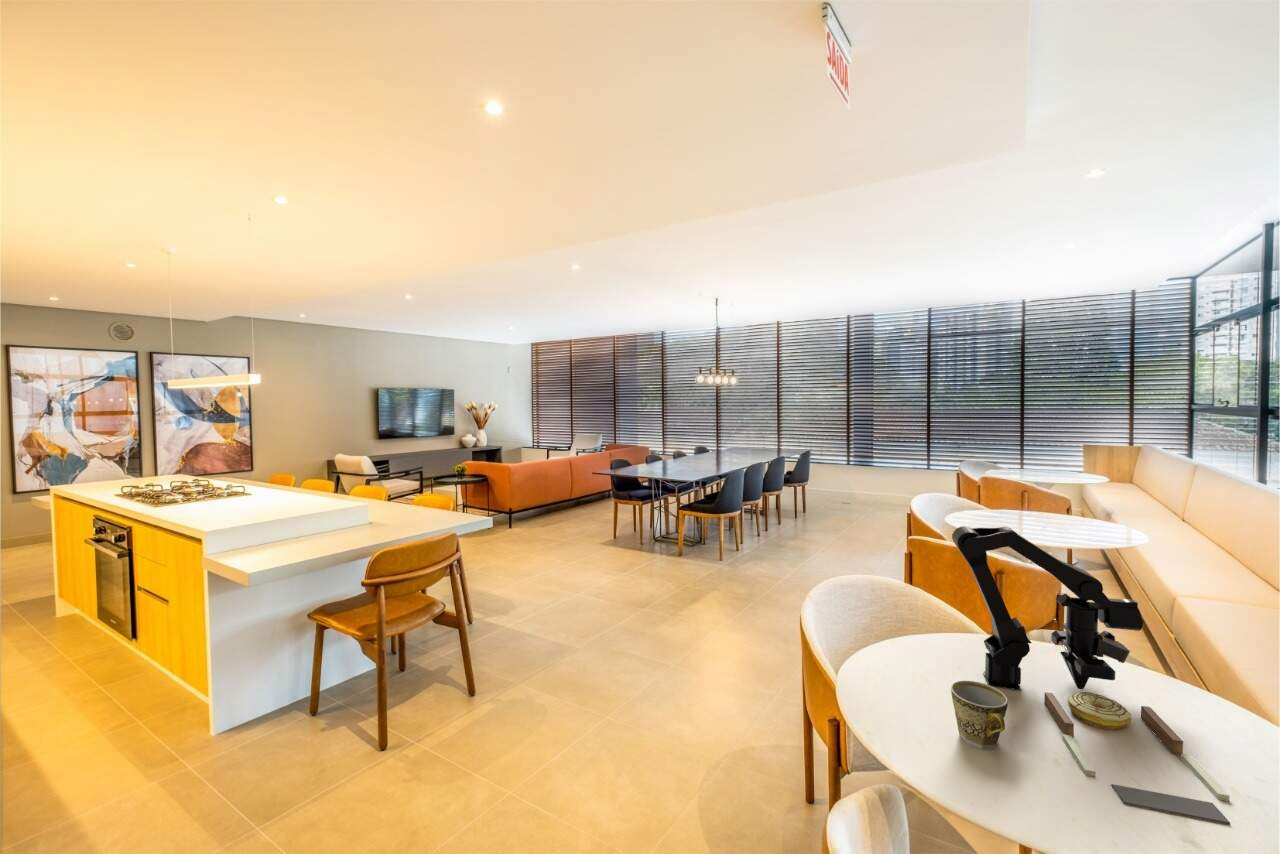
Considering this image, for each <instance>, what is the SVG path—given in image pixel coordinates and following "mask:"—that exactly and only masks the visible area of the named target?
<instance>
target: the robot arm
mask: <svg viewBox="0 0 1280 854" xmlns="http://www.w3.org/2000/svg"><path fill="white" fill-rule="evenodd" d="M951 539H952V542H953V543H954V545H955V546H956V548H957V550H958V551H959V552H960V554H961V555H962V557H963V558H964V560H965V561H966V562H967V564H968V566H969V568H970V570H971V572H972V575H973V578H974V579H975V582H976V584H977V586H978V588H979V592H980V593H981V595H982V597H983V601H984V603H985V605H986V607H987V610H988V612H989V613H990V614H989V615H990V617H991V628H992V632H993V634H991V635H990V636H988V637H987V638H986V639H984V640H983V643H984V646H985V649H986V650H987V651H988V652H985V664H984V665H985V670H983V672H982V674H983V677H984V678H985V679H986V682H987V685H990V686H992V687H994V688H1000V689H1001V688H1003V689H1008V690H1015V691H1016V690H1017V691H1020V690H1021V686H1020V685H1022V684H1021V683H1022V682H1021V681H1022V680H1021V679H1022V669H1021V666H1020V663H1021V662H1022V661H1023V660H1022V659H1023V658H1025V657H1026V656H1028V654H1029V653H1030V650H1031V648H1030V644H1032V641H1031V640H1030V639H1029V638H1028V635H1027V632H1026V628H1025V626H1024V625H1023V624H1022V622H1021V621H1020V620H1019V619H1018V618H1017V616H1016V617H1013V618H1011V615H1010V613H1009V611H1008V608H1007V606H1006V604H1005V601H1004V599H1003V597H1002V593H1001V592H1000V590H999V587H998V586H997V583H996V580H995V578H994V575H993V574H992V572H991V570H990V566H989V563H988V554H987V552H989V551H993V550H995V551H996V550H998V549H1002V548H1009V549H1011V550H1014V551H1015V552H1016V553H1017V554H1019V555H1021V556H1023V558H1026V559H1027V560H1028V561H1030V562H1032V563H1034V564H1035V565H1037V566H1038V567H1040V568H1042V569H1043V570H1044V571H1046V572H1048V573H1049V574H1051V575H1052V576H1053V577H1055V579H1057V580H1058V582H1060V583H1061V585H1063V586H1065V587H1066V588H1067V589H1068V590H1069V591H1070V592H1072V593H1073V595H1075V596H1076V597H1072V596H1069V594H1068V593H1065V592H1064V593H1063V594H1062V595H1060V596H1058V597H1056V598H1055V601H1056V602H1057V603H1058V604H1060V605H1061V606H1062V607H1066V615H1065V616H1066V617H1065V618H1066V622H1063V623H1062V627H1063V629H1064V630H1054V631H1053V632H1051V633H1050V634H1051V642H1052V643H1053V644H1054V645H1055V646H1058V645H1060V642H1061V643H1062V647H1063V648H1064V651H1060V655H1061V657H1062V659H1063V661H1064V663H1065V664H1066V668H1067V669H1068V672H1069V674H1070V676H1071V678H1072V680H1073V681H1074V685H1075V687H1076V688H1077V689H1078V690H1084V689H1085V687H1086V686H1087V684H1088V681H1089V679H1090V678H1092V679H1099V680H1106V681H1115V680H1116V671H1115V670H1114V669H1113V668H1112V667H1111V665H1109V663H1108V662H1106V660H1104V659H1101V658H1104V656H1106V657H1108V658H1111V659H1114V660H1115V661H1118V662H1119V663H1121V664H1125V662H1126V660H1127V658H1128V656H1129V654H1130V652H1131V651H1130V650H1129V649H1128V647H1126V646H1125V645H1124V644H1122V643H1121V642H1120V641H1118V640H1116V638H1115V637H1116V636H1115V635H1114V634H1113V633H1111V632H1109V631H1106V630H1103V631H1101V632H1099V631H1098V629H1099V628H1098V627H1099V625H1098V624H1099V623H1101V624H1104V625H1103V626H1105V627H1106V628H1108V629H1117V630H1125V631H1135V632H1140V631H1141V630H1142V629H1143V627H1144V626H1143V625H1144V620H1143V618H1142V614H1141V611H1140V609H1139V603H1138V602H1137V601H1135V600H1134V599H1131V598H1129V599H1128V598H1123V599H1119V598H1109V597H1107V595H1106V594H1105V592H1103V591H1104V588H1103V583H1102V582H1101V581H1100V580H1098V579H1097V578H1096V577H1095V576H1094V575H1092V574H1090V573H1089V572H1088V571H1086V570H1084V569H1082V568H1080V567H1077V566H1075V565H1073V564H1070V563H1067V562H1065V561H1062V560H1060V559H1058V558H1057V557H1055V556H1053V555H1052V554H1050V553H1049V552H1047V551H1045V550H1043V549H1042V548H1041V547H1039V546H1038V545H1035V543H1032V542H1031V541H1029V540H1028V539H1026V538H1024V537H1023V536H1022V535H1019V534H1018V533H1017V532H1016V531H1015V530H1013V529H1012V528H1011V527H1008V526H999V527H972V528H971V527H970V526H965V525H964V526H963V525H962V526H960V527H957V528H955V529H954V531H953V532H952V534H951Z"/></svg>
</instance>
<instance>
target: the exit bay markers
mask: <svg viewBox="0 0 1280 854" xmlns="http://www.w3.org/2000/svg"><path fill="white" fill-rule="evenodd" d="M1061 735H1062V736H1061V737H1062V741H1063V742H1064V743H1065V745H1066V747H1067V748H1068V750H1069V752H1070V754H1071V755H1072V757H1073V758H1074V759H1075V762H1076V763H1077V764H1078V766H1079V768H1080V769H1081V771H1082V772H1083V774H1084V775H1085V776H1091V777H1096V770H1095V768H1093V766H1092V764H1091V763H1090V762H1089V760H1088V759H1087V757H1086V756H1085V753H1084V752H1083V751H1082V750H1081V748H1080V746H1079V745H1078V744H1077V742H1076V740H1075V739H1074V738H1073V737H1072V736H1071V735H1065V734H1063V733H1062V734H1061ZM1180 759H1181V761H1183V762H1184V764H1185V765H1186V766H1187V767H1188V768H1189V769H1190V770H1191V771H1192V773H1193V774H1194V775H1195V776H1196V777H1197V778H1198V779H1199V780H1200V781H1201V782H1202V783H1203V785H1204V786H1206V788H1207V789H1208V790H1209V791H1210V792H1211V793H1212V794H1213V795H1214V797H1215V798H1216V799H1218V800H1221V801H1225V802H1230V795H1229V793H1228V792H1227V791H1226V790H1225V789H1224V788H1223V787H1222V786H1221V785H1220V784H1219V783H1218V782H1217V781H1216V780H1215V778H1213V777H1212V775H1211V774H1209V773H1208V772H1207V770H1206V769H1205V768H1204V767H1203V766H1202V765H1201V764H1200V763H1199V762H1198V761H1197V760H1196V759H1195V758H1194V757H1193V756H1192V755H1191V754H1186V753H1183V754H1181V756H1180Z"/></svg>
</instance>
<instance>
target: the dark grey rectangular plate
mask: <svg viewBox="0 0 1280 854" xmlns="http://www.w3.org/2000/svg"><path fill="white" fill-rule="evenodd" d="M1111 787H1112V789H1113V791H1114V792H1115V793H1116V795H1117V797H1119V800H1120V801H1121V802H1122V804H1123V805H1128V806H1132V807H1138V808H1142V809H1147V810H1153V811H1158V812H1163V813H1167V814H1168V813H1169V814H1173V815H1179V816H1183V817H1188V818H1194V819H1197V820H1205V821H1209V822H1214V823H1219V824H1224V825H1229V826H1230V825H1231V822H1230V821H1229V820H1228V818H1227V817H1226V816H1225V815H1224V814H1223V813H1222V811H1221V810H1219V809H1218V807H1217V806H1216V805H1215V804H1214V803H1213V802H1211V801H1205V800H1201V799H1200V800H1199V799H1195V798H1194V799H1193V798H1188V797H1184V796H1178V795H1173V794H1167V793H1163V792H1162V793H1161V792H1158V791H1157V792H1156V791H1152V790H1151V791H1149V790H1147V789H1139V788H1135V787H1130V786H1126V785H1125V786H1124V785H1120V784H1115V783H1114V784H1113V783H1111Z"/></svg>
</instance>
